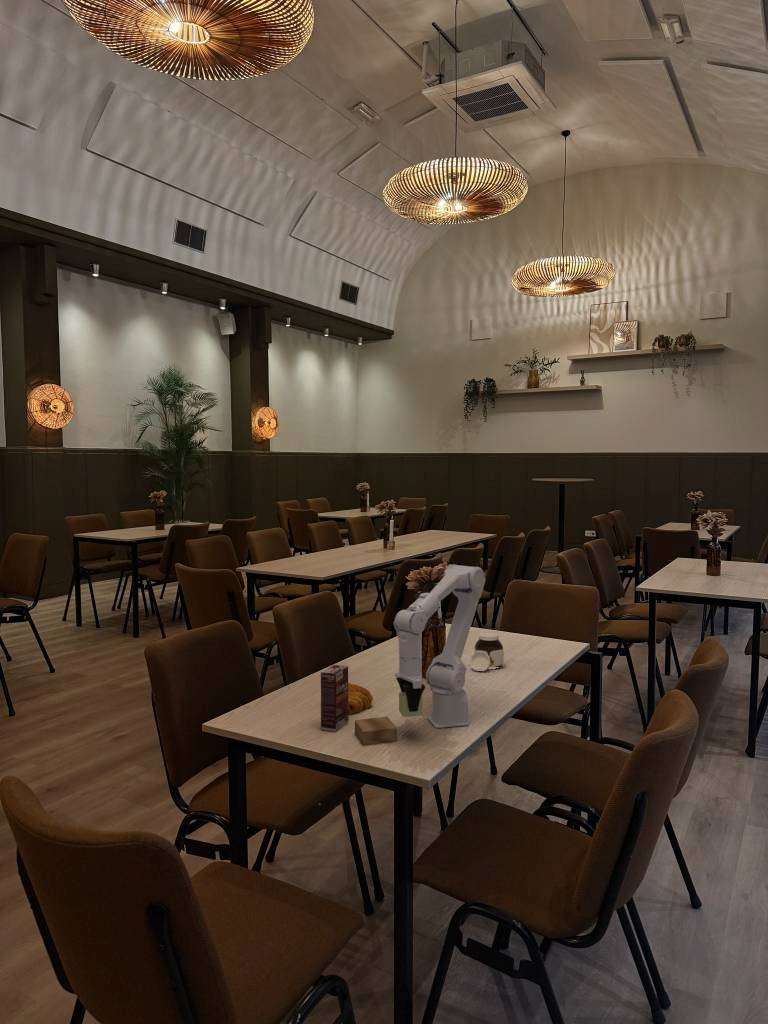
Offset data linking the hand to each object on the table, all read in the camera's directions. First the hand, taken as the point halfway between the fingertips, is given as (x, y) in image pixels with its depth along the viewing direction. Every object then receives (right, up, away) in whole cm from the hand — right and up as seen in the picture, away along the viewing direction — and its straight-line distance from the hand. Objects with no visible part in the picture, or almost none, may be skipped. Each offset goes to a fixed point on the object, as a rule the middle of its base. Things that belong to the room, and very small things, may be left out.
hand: (410, 707), depth 188 cm
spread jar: (+29, -4, +64) cm, 70 cm away
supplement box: (-20, -8, +9) cm, 24 cm away
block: (-9, -8, +1) cm, 12 cm away
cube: (0, -2, 0) cm, 2 cm away
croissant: (-18, -7, +25) cm, 32 cm away
